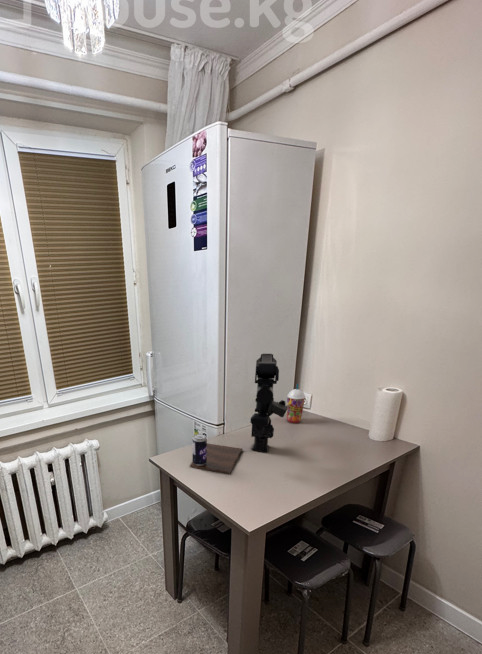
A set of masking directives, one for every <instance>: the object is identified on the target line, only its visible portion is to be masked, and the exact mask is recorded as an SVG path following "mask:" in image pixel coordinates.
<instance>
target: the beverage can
mask: <svg viewBox="0 0 482 654" xmlns="http://www.w3.org/2000/svg"><path fill="white" fill-rule="evenodd" d="M191 442H192V443H191V444H192V450H191V451H192V462H193V463H194V464H195V465H198V466H201V465H204V464H205V463H206V462H207V443H208V439H207V436H206V434H202V433H196V434H194V435H193V436H192V441H191Z"/></svg>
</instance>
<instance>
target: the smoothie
mask: <svg viewBox="0 0 482 654" xmlns="http://www.w3.org/2000/svg"><path fill="white" fill-rule="evenodd" d="M286 396H287V397H286V398H287V399H286V400H287V401H286V402H287V403H286V406H287V407H288V409H287V411H286V419H287V422H288V423H290V424H299V423H300V422H301V421H302V416H303V412H304V407H305V406H304V405H305V399H306V395H305V393H304V391H303V390H301V389H299V383H296V388H294V389H292V390H290V391H289V392H288V394H287V395H286Z"/></svg>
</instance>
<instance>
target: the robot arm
mask: <svg viewBox="0 0 482 654" xmlns="http://www.w3.org/2000/svg"><path fill="white" fill-rule="evenodd" d="M255 362H256V363H255V373H254V375H255V376H254V384H257V387H256V396H255V397H256V398H255V401H254V402H255V408H254V413H253V414H252V415H251V417H250V422H249V423H250V424H251V436H250V437H251V438H254V439H253V444H252V447H251V450H252V451H255V452H256V451H258V452H263V453H268V451H269V449H270V445H269V439H272V438H273V437H274V431H275V427H274V426H273V424H272V418H271V416H272V415H276V416H278V417H280V418H284V417H285V415H286V414H287V409H288V407H287V403H286V402H287V401H286V400H283V399H282V400H280V401H275V399H274V385H277V383H278V382H279V379H280V369H279V366H278V365H277V362H278V361H277V359H276V358H275V357H274V354H273V353H262V354H260V357H259V358H258V359H256V361H255Z"/></svg>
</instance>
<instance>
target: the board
mask: <svg viewBox="0 0 482 654" xmlns="http://www.w3.org/2000/svg"><path fill="white" fill-rule="evenodd" d="M242 451H243V448H239V447H234V446H228V445H220V444H214V443H208V442H207V462H206V463H205V464H204V465H201V466H198V465H195V464H194V463H193V461H191V463H190V464H189V467H190V468H194V469H199V470H205V471H211V472H216V473H219V474H220V473H221V474H226V475H230V474H231V472H232V470H233V468H234V466H235V464H236V463H237V460H238V459H239V458H240V456H241V454H242Z"/></svg>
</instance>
